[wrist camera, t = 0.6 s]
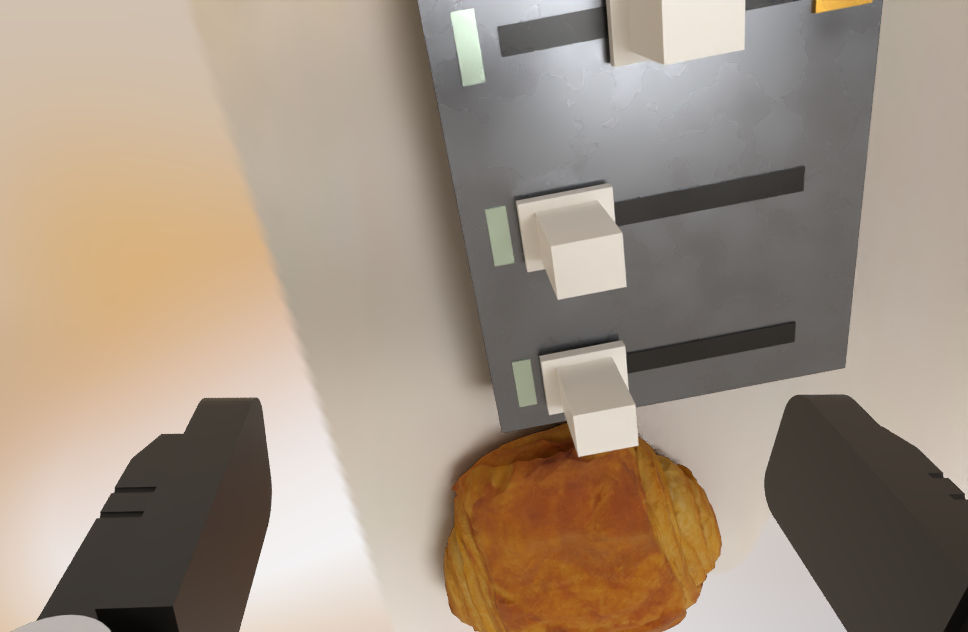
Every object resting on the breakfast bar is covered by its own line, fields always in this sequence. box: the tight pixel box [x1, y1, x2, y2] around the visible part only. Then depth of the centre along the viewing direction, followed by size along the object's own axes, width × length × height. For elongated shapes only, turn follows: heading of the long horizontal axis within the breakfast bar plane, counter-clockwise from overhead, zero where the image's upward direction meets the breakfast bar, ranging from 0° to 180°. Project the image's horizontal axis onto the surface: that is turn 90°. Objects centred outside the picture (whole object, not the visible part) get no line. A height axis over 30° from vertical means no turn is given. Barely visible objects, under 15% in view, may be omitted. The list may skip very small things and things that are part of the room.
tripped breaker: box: [606, 0, 745, 67], centre depth 21 cm, size 4×3×4 cm
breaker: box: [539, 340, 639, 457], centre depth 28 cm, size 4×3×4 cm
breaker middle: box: [516, 183, 627, 300], centre depth 24 cm, size 4×3×4 cm
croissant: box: [444, 423, 722, 632], centre depth 36 cm, size 14×16×8 cm
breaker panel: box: [417, 0, 883, 433], centre depth 28 cm, size 16×19×4 cm
